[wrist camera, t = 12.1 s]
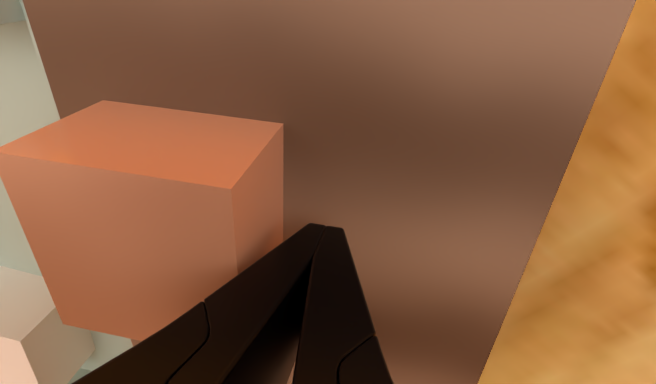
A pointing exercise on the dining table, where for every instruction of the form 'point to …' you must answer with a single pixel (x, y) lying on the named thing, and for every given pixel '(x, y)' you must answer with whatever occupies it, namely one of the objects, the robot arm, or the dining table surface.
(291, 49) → the plate
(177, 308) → the salmon pink cube
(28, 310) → the pale pink cube
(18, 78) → the tray
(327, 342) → the robot arm
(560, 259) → the dining table surface
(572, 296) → the dining table surface
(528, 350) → the dining table surface
